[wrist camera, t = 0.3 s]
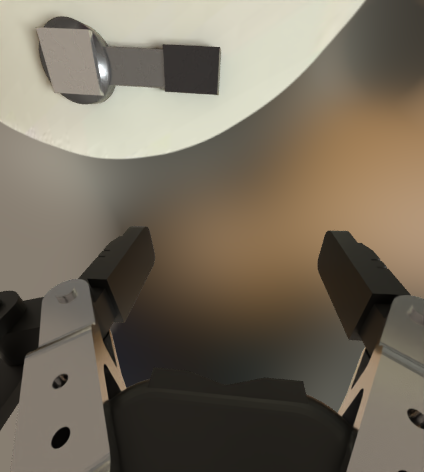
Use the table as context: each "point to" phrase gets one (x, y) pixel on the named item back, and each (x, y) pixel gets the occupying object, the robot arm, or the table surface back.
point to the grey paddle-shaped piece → (120, 64)
